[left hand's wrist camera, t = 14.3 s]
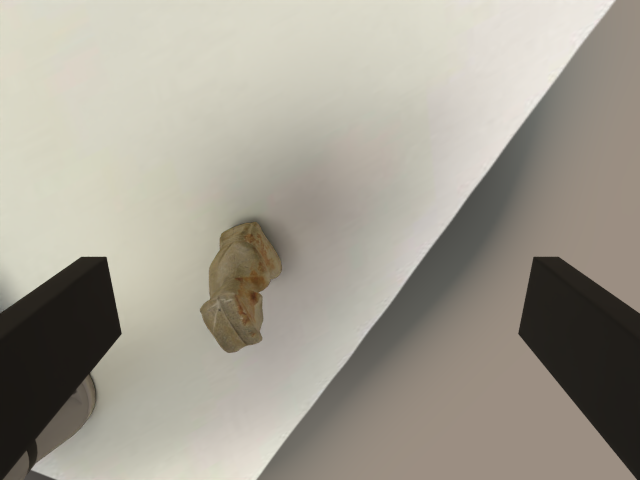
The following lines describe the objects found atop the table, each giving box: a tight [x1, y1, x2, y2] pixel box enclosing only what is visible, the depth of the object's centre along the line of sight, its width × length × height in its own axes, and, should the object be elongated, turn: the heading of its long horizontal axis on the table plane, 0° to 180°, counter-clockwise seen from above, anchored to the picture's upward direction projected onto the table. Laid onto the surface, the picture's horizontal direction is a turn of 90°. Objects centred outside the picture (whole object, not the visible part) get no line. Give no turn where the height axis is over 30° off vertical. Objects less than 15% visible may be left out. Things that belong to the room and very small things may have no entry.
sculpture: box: [200, 222, 282, 353], centre depth 38 cm, size 6×7×15 cm
